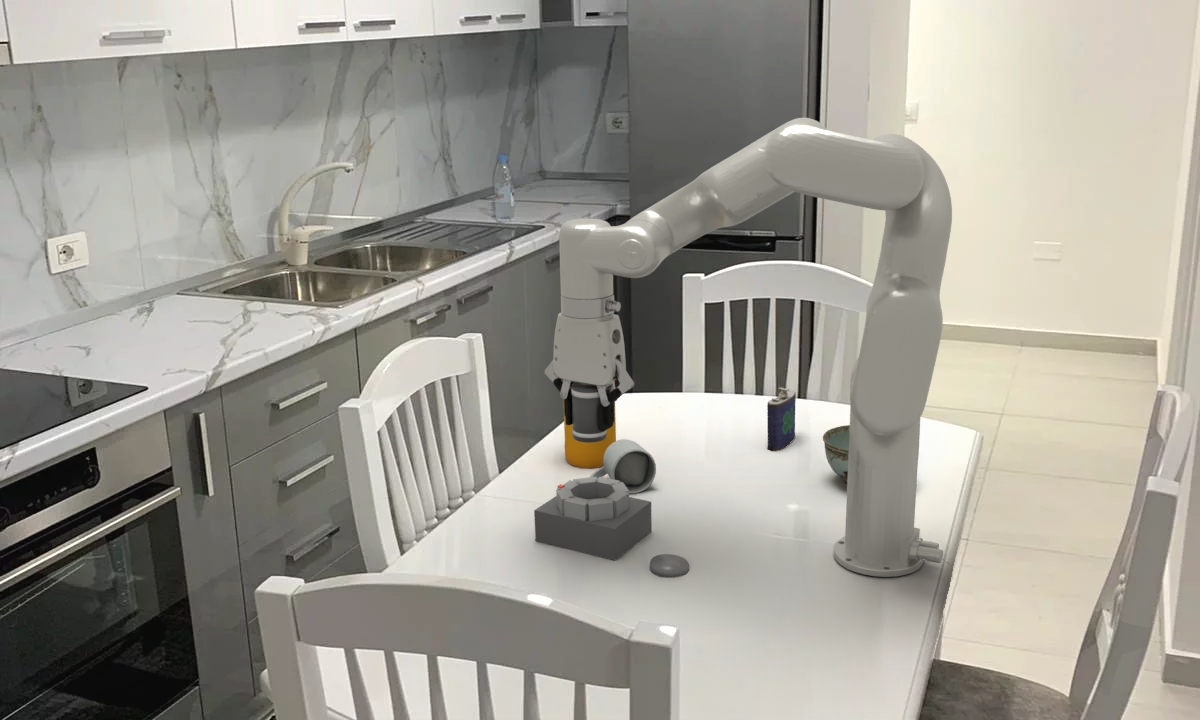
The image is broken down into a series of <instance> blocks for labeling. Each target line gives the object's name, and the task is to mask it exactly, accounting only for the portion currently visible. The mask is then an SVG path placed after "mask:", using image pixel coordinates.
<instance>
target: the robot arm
mask: <svg viewBox="0 0 1200 720" xmlns="http://www.w3.org/2000/svg"><path fill="white" fill-rule="evenodd" d="M794 193H799V194H802V195H805V196H810V197H814V198H819V199H822V200H828V201H833V202H837V203H842V204H847V205H852V206H857V207H861V208H866V209H870V210H876V211H885V212H884V213H885V223H884V229H883V234H882V240H881V247H880V254H879V257H878V258H879V259H878V263H877V268H876V270H875V271H876V272H875V275H874V276H875V277H874V280H873V284H872V288H871V290H870V294H869V296H868V298H867V302H866V303H867V304H866V312H865V313H866V314H865V323H864V328H863V334H862V338H861V343H860V349H859V355H858V357H857V358H856V360H855V362H854V364H853V367H852V369H851V370H852V371H851V373H850V386H849V387H850V394H849V397H850V399H849V401H850V402H849V403H850V405H849V406H850V409H849V410H850V411H849V412H850V413H849V425H850V432H849V454H848V479H847V485H846V506H845V510H846V512H845V533H844V536H843V537H841V538H840V539H838V540H837V541H836V542H835V543H834V545H833V557H834V560H835V561H836V562H837V563H838V564H839V565H840V566H842V567H844V568H845V569H847V570H849V571H851V572H855V573H857V574H861V575H865V576H872V577H878V578H879V577H880V578H893V577H901V576H907V575H909V574H912V573H914V572H916V571H917V570H920V568H921V567H922V566H923V564H924V560H925V561H927V562H931V563H935V564H939V565H940V564H941V563H942V561H943V558H944V551H943V549H940V548H939V547H940V544H939V542H934V541H927V540H923V538H921V537H920V536H921V535H920V533H921V528H918V527H915V516H916V515H915V514H916V499H917V483H918V482H917V481H918V465H919V454H920V452H919V450H920V436H921V435H920V434H921V433H920V432H921V417H922V414H923V412H924V410H925V407H926V403H927V400H928V396H929V391H930V387H931V383H932V379H933V374H934V371H935V365H936V361H937V357H938V353H939V349H940V348H939V347H940V344H941V338H942V331H943V325H944V324H943V309H942V305H941V300H940V299H941V298H940V294H941V293H940V292H941V288H942V287H941V285H942V280H943V275H944V272H945V271H944V270H945V267H946V266H945V265H946V261H947V256H948V255H947V254H948V247H949V243H950V238H951V232H952V221H953V206H952V205H953V203H952V197H951V192H950V190H949V186H948V181H947V180H946V177H945V175H944V173H943V170H942V169H941V167H940V165H939V164H938V163H937V162H936V160H935V159H934V158H933V157H932V155H931V154H930V153H928V152H927V151H926V150H925V149H924V148H923V147H922V146H920V145H919V144H918V143H916V142H915V141H913V140H912V139H910V138H908V137H906V136H904V135H901V134H896V133H886V134H885V133H884V134H881V135H879V136H876V137H874V138H868V137H863V136H858V135H852V134H848V133H843V132H838V131H834V130H830V129H827V128H826V126H825V125H823V123H821V122H819V121H818V120H815V119H812V118H810V117H798V118H797V117H796V118H794V119H791V120H789V121H787V122H784V123H783V124H781V125H780V126H778V127H777V128H775V129H774V130H772V131H770V132H768V133H766V134H765V135H763V136H762V137H760V138H758V139H756V140H755V141H753V142H752V143H749V145H747V146H745V147H743V148H742V149H740V150H738V151H737V152H736V153H733V154H731V155H730V156H728V157H727V158H725V159H723V160H721V161H720V162H718V163H716V164H715V165H713V166H711V167H710V168H708V169H707V170H705V171H704V172H702V173H701V174H700V175H699V176H697V177H696V178H694V180H692V181H691V182H689V183H688V184H686V185H684V186H682V187H681V188H679V189H677V190H676V191H674V192H673V193H671V194H669V195H667V196H666V197H664V198H663V199H661V200H659V201H657V202H656V203H654V204H653V205H651V206H649V207H648V208H646V209H644V210H643V211H641V212H639V213H638V214H636V215H635V216H633V217H631V218H630V219H629V220H628V221H626V222H625V223H623V224H620V225H616V226H615V225H612V226H611V224H610V223H609V222H608V221H606V220H603V219H599V218H574V219H570V220H567V221H565V222H563V223H562V225H561V226H560V229H559V232H558V233H559V234H558V235H559V237H558V239H559V240H558V242H559V243H558V244H559V273H560V274H559V275H560V276H559V277H560V312H559V313H557V318H556V323H555V328H554V329H555V330H554V338H553V352H552V353H553V355H552V356H553V358H552V360H551V362H549V364H548V366H546V368H545V369H544V374H545V376H546V377H547V378H548V379H549V380H550V381H551V382H552V383H553V385H554V386H555V388H556V389H557V391H558V392H559V393H560V394H559V395H560V398H561V399H564V402H563V416H564V415H565V417H566V425H571V424H573V422H572V392H571V388H572V384H573V383H575V382H577V383H583V384H589V385H595V386H597V388H598V392H599V396H600V399H601V403H602V404H601V405H599V406H598V430H599V431H601V432H604V431H605V430H607V429H609V428H611V427H612V426H613V423H614V402H615V403H616V401H618V400H619V399H620V397H621V396H623V395H624V394H625V393H626V392H627V391H630V390H631V389H632V388H633V387H634V386H635V382H634V380H633V379H632V377H631V376H630V374H629V373H628V371H627V363H626V362H627V361H626V350H625V349H626V348H625V340H624V334H623V328H622V324H621V319H620V316H619V315H618V314H614V313H615V312H620V310H621V308H622V305H621V302H620V301H616V300H615V295H614V276H620V277H622V278H623V277H624V278H631V279H639V278H644V277H646V276H649V275H651V274H652V273H653V272H654V271H656V269H657V268H658V267H659V266H660V265H661V263H662V262H663V261H664V260H665V259H667V257H669V256H670V255H672V254H674V253H676V252H677V251H678V250H680V249H682V248H683V247H685V246H688V245H689V244H690V243H693V242H694V241H696V240H697V239H699V238H701V237H703V236H705V235H707V234H709V233H711V232H714V231H716V230H718V229H721V228H727V227H735V226H736V225H739V224H741V223H743V222H746V221H747V220H749V219H750V218H752V217H754V216H755V215H757V214H759V213H761V212H762V211H764V210H765V209H766V210H767V208H769V207H771V206H772V205H775V203H777V202H779V201H781V200H782V199H784V198H786V197H788V196H790V195H792V194H794ZM613 380H615V381H617V380H618V382H619V385H618V386H617V387H616V384H615V385H614V381H613Z"/></svg>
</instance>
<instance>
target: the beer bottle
mask: <svg viewBox="0 0 1200 720" xmlns="http://www.w3.org/2000/svg"><path fill="white" fill-rule="evenodd" d="M613 381H614V385H615V386H616V384H615V383H616V380H613ZM562 399H563V398H562ZM563 403H564V399H563ZM616 419H617V418H616V401H615V402H614V423H613V426H612V427H611V428H609V429H607V433H606V434H607V436H606V438H605V439H604V440H602V441H598V442H580V441H577V440H575V439H574V438H573V433H572V428H573V424H571V425H566V417H565V415H564V414H563V425H564V426H563V427H564V456H565V460H566V462H567V463H568V464H569V465H571V466H574V467H577V468H582V469H583V468H585V469H594V468H601V467H603V466H604V462H603V458H604V453H605V451H606V449H607V448H608V447H609V445H610V444H612V443H613V442H615V441H617V429H616V428H617V426H616V425H617V424H616V422H617V421H616Z"/></svg>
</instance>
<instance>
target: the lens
mask: <svg viewBox="0 0 1200 720" xmlns="http://www.w3.org/2000/svg"><path fill="white" fill-rule="evenodd" d="M571 392H572V422H573V428H572V433H573V438H574V439H575V440H577V441H580V442H598V441H602V440H604V439H605V438H606V436H607V434H606V433H607V430H605V431H604V432H601V431H599V430H598V406H599V405H601V404H602V403H601V399H600V396H599V392H598V388H597V386H595V385H589V384H583V383H577V382H575V383H573V384H572V388H571Z"/></svg>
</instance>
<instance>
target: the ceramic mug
mask: <svg viewBox="0 0 1200 720" xmlns="http://www.w3.org/2000/svg"><path fill="white" fill-rule="evenodd" d="M603 462H604V466H602V467H599V469H596V470H595V471H594V472H593V473H592V474H591V475H590V476H589V477H597V478H599V477H605V476H606V475H607V476H608V478H609V479H614V480H618V481H620V482H623V483H624V484H625V486H626V487H627V489H628V490H629V494H631V495H632V494H638V493H641V492H643V491H645V490H646V489H648V488H649V487H650V486H651V485H652V484H653V482H654V481H655V477H656V474H657V467H656V466H657V464H656V461H655V458H654V457H653V455H652V454H651V453H650V452H648V450H646V449H645V448H643V446H641V445H640V444H639V443H637V442H636V441H633V440H632V439H627V438H623V439H618V440H617V439H616V441H615V442H613V443H612V444H610V445H609V447H608V448H607V449H606V451H605V453H604V458H603Z"/></svg>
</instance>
